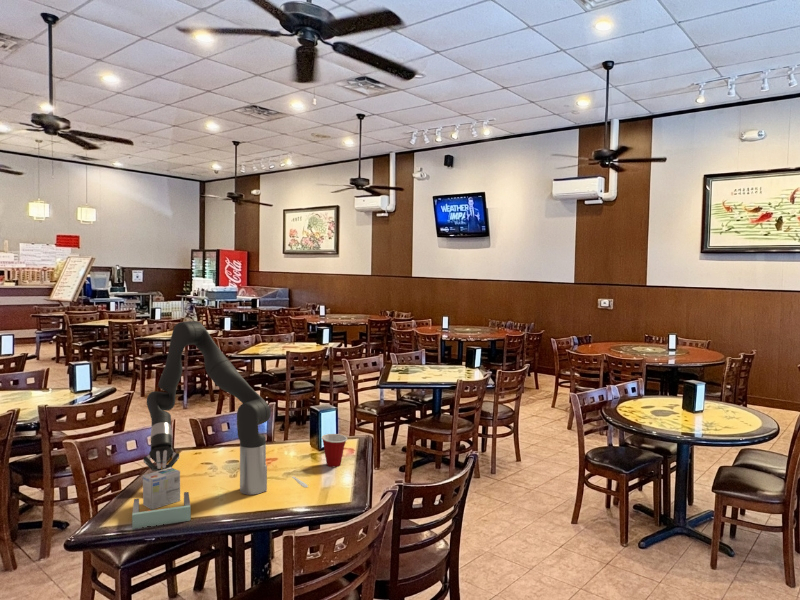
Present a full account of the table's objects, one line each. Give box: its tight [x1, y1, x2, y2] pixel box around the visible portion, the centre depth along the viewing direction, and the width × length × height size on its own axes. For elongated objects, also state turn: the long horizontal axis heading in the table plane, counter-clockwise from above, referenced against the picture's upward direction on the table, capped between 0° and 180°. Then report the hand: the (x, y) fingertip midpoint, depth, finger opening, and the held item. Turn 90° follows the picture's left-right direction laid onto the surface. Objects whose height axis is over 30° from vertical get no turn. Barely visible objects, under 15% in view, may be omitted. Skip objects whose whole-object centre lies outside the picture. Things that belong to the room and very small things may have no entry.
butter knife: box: [291, 476, 309, 489], centre depth 221 cm, size 1×27×3 cm
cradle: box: [131, 491, 192, 530], centre depth 183 cm, size 17×14×4 cm
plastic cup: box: [321, 433, 348, 468], centre depth 235 cm, size 11×11×12 cm
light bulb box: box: [142, 466, 181, 511], centre depth 194 cm, size 11×7×11 cm, turn 141°
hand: (161, 479), depth 203 cm, fingers closed
